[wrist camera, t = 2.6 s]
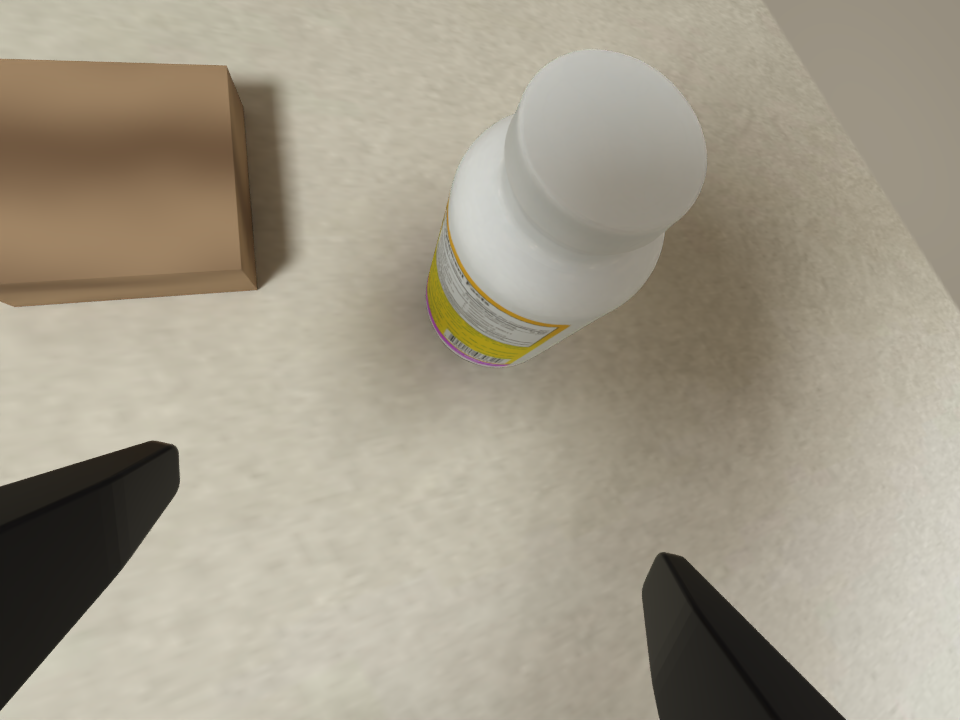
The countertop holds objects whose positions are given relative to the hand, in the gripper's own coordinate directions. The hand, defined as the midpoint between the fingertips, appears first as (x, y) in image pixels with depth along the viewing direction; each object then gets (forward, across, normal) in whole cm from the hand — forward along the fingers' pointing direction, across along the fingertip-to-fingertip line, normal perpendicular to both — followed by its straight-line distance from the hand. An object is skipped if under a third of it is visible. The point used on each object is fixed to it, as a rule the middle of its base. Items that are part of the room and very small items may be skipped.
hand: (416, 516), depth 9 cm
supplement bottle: (+16, -1, 0) cm, 16 cm away
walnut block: (+14, +15, -2) cm, 21 cm away
